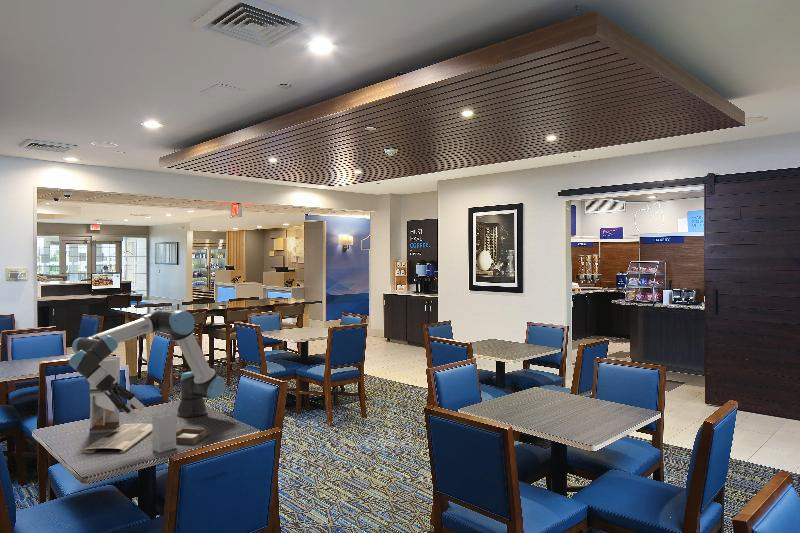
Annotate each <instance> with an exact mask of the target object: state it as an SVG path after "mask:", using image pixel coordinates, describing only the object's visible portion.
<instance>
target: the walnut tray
mask: <svg viewBox="0 0 800 533" xmlns="http://www.w3.org/2000/svg"><path fill="white" fill-rule="evenodd" d="M208 436H209V429H204V428H203V429H200V428H189V427H188V428H187V427H181V428H180V429H178V430H176V444H177V443H179V444H181V445H189V446H190V445H192V446H193V445H195V444H197V443H198V442H200V441H201V440H203V439H205V438H207V437H208ZM179 444H178V445H179Z"/></svg>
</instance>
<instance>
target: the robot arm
mask: <svg viewBox="0 0 800 533" xmlns="http://www.w3.org/2000/svg"><path fill="white" fill-rule="evenodd" d="M195 323H196V322H195V318H194V316H193V315H192V314H191V313H190V312H189V311H186V310H183V309H168V308H165V309H163V308H162V309H159V310H156V311H153V312H149V313H147V314H145V315H142V316H140V318H139V319H136V320H134V321H131V322H128V323H125V324H122V325H119V326H116V327H114V328H110V329H108V330H105V331H102V332H99V333H96V334H93V335H90V336H87V337H84V336H83V337H82V336H81V337H78V338H76V339H74V340H73V342H72V345H71V347H72V351H73V352H74V354H73V355H72V356H71V357H70V358H69V360H68V364H69V365H70V367H72V369H74V371H76V372H77V373H79V375H81V376H82V377H83V378H85V379H86V380H87V382H88V383H89V384H90V383H91V384H93V385H96V388H97V389H98V390H99V391H100V392H103V391H104V390H106V392H105V394H106V395H107V396H108V397H109V399H110V400H111V401H112V402H113V404H114V405H115V406H116V407H117V409H118V410H119V412H120V411H123V412H124V413H125V414H126V415H127V416H128V417H130V418H131V419H132V420H134V419H136V418H137V416H139V413H138V412H136V411H135V410H134V409H133V407H135V409H137V410H138V411H139V412H141V411H142V410H143V409H144V408H145V407H146V406H145V405H144V404H143V403H142V402H141V401H139V399H138V398H136V397H135V396H136V394H135V393H134V392H132V391H130V390H128V389H126V388H125V387H124V386H122V385H121V384H120V385H119V384H118V383H117V382H116V383H115V384H114V383H113V382H114V381H115V378H114V377H113V376H112V375H110V374H109V375H108V372H107V371H106V370H105V369H104V368H103V367H101V366H100V365H99V363H100V362H101V361H103V360H104V359H105V358H106V357H110V355H111V354H113V353H114V352H115V350H117V348H118V347H119V345H118V344H121V343H123V342H126V341H129V340H131V339H134V338H136V337H139V336H142V335H145V334H147V335H149V334H153V333H167V334H168V335H169V337H170V339H171V341H173V342H176V343H177V345H178V347H179V349H180V351H181V352H182V355H183V356H184V358H185V360H186V363H187V364H188V366H189V368H190V370H191V371H187V372H182V373H181V376H180V402H179V404H178V408H177V410H176V411H177V412H176V416H178V417H181V418H195V417H201V416H204V415H206V414H207V412H208V409H207V405H206V402H205V399H204V398H206V399H211V400H212V399H218V398H220V397H221V396H222V395H223V394H224V391H225V389H226V381H225V379H224V377H222V376H219V375H217V372H216V370H215V369H214V368H211V367H210V365H209V363H208V361H207V359H206V357H205V355H204V353H203V351H202V349H201V347H200V345H199V343H198V341H197V339H196V336H195V335H194V332H195ZM123 398H124V399H126V400H128V402H129V403H130V404H131V405H132V406H133V407H131V406H130V405H128V404H126V403H125V401H124V400H123Z"/></svg>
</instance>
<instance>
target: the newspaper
mask: <svg viewBox="0 0 800 533" xmlns="http://www.w3.org/2000/svg"><path fill="white" fill-rule="evenodd" d="M152 431H153V430H152V423H143V422H142V423H124V424H121V425H119V427H118V428H117V429H115V430H113V431H112V432H108V433H107V434H105V435H104V436H103V437H101V438H99V439H98V440H96V441H95V442H93V443H92V444H90V445H88V446H87V447H85V448H83V449H82V453H83V454H89V453H95V452H97V451H98V450H100V449H117V450H118V449H119V450H120V451H119V453H122V454H124V453H126V452H127V451H128V450H129V449H131V448H132V447H133V446H134V445H136V444H138V443H139V442H140V441H142V439H144V438H145V437H147V436H148V435H149V434H152Z"/></svg>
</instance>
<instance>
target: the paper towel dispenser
mask: <svg viewBox="0 0 800 533" xmlns="http://www.w3.org/2000/svg"><path fill="white" fill-rule="evenodd" d="M120 362H121V356H119V355H117V356H107V357H106V358H105V359H104V360H103V361H101V362H100V363H99V365H100V366H101V367H103V368H104V369H105V370H106V371H107V372H108V375H109V374H110V375H112V376H113V377H114V378H115V381H114V382H113V383H114V384H115V383H116V382H117V383H118V384H119V385H121V384H120V383H121V381H120V380H121V379H120V378H121V377H120V376H121V374H120V373H121V363H120ZM105 392H106V390H104V391H103V392H100V391H99V390H98V389H97V388H96V385H93V384H91V383H89V398H90V399H89V400H90V402H89V406H90V407H89V410H90V411H89V434H98V432H99V434H100V432H101V433H110V432H112V431H113V430H115V429H117V428H118V426H119V427H120V411H119V410H118V409H117V407H116V406H115V405H114V404H113V402H112V401H111V400H110V399H109V397H108V396H107V395H106V394H105Z"/></svg>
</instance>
